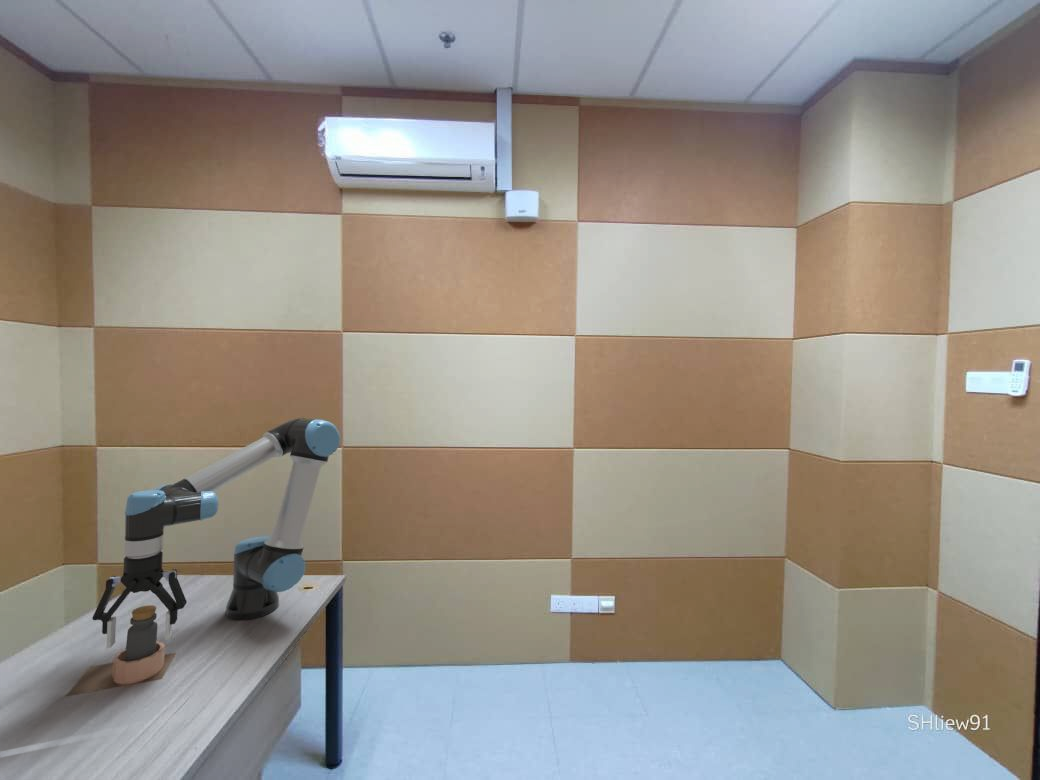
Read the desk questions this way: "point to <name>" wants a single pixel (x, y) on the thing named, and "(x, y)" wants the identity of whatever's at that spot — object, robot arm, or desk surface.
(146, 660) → the terracotta bowl
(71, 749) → the desk surface
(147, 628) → the bottle
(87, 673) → the board
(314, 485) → the robot arm
